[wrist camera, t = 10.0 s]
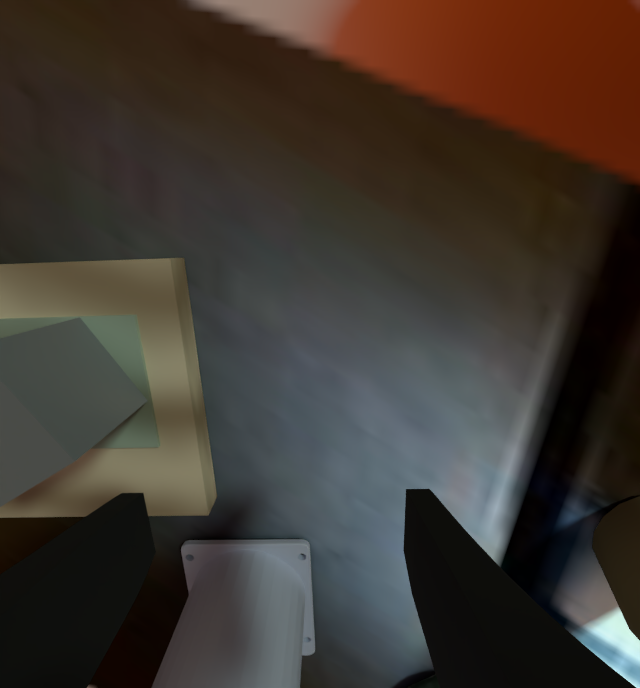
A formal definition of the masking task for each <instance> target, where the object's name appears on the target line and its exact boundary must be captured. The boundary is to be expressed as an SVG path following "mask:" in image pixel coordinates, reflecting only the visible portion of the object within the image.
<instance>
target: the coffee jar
mask: <svg viewBox="0 0 640 688" xmlns="http://www.w3.org/2000/svg"><path fill="white" fill-rule="evenodd" d="M408 688H440V687H439V683H438V680H437V677H436V674H435V675H433V676H431V677H429V678H426V679H424V680H421V681H419V682H417V683H415V684H412V685H410V686H409V687H408Z"/></svg>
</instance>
